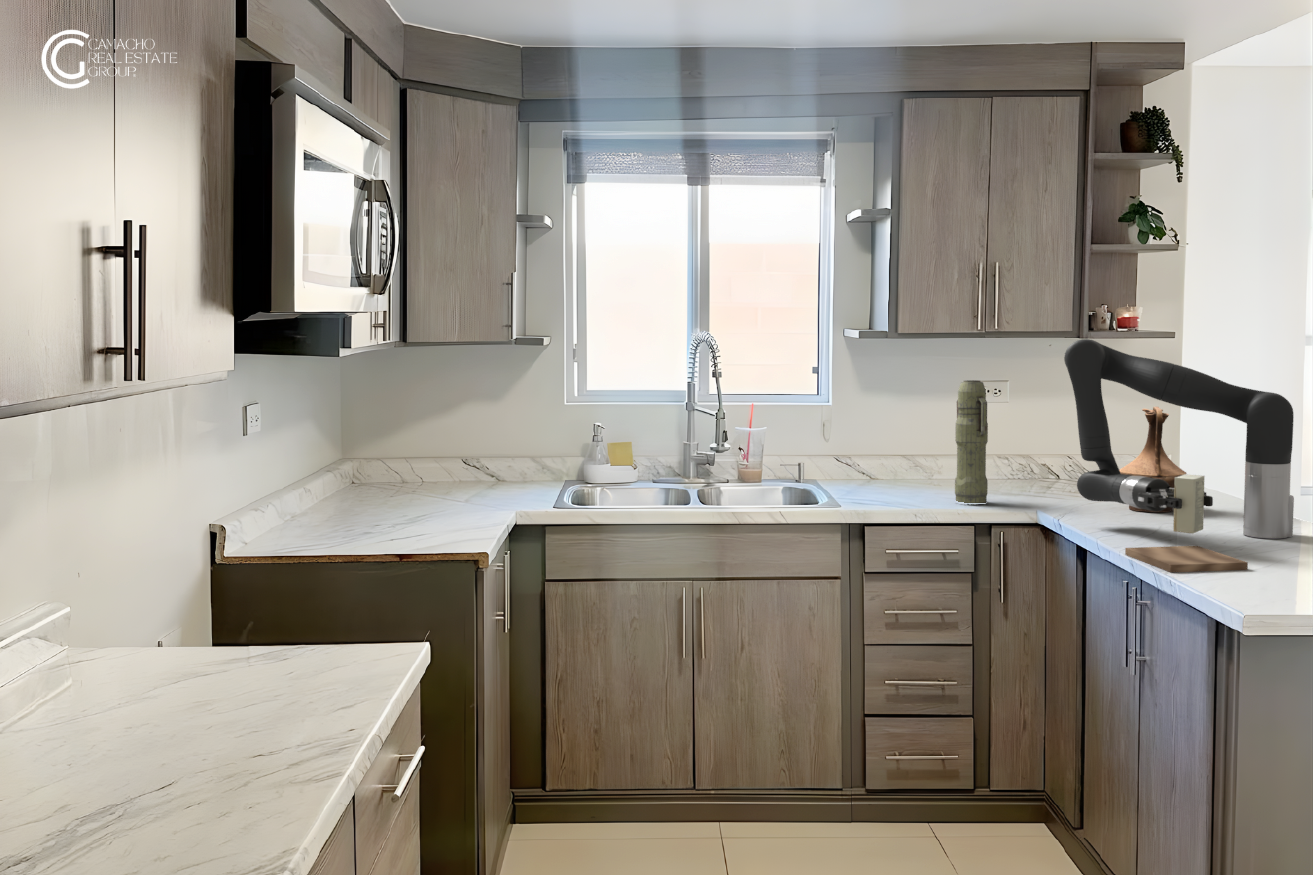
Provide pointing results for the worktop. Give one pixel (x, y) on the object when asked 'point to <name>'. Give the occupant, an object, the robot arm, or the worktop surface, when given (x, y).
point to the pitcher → (1154, 456)
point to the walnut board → (1186, 559)
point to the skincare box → (1189, 503)
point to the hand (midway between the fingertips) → (1196, 502)
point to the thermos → (971, 443)
